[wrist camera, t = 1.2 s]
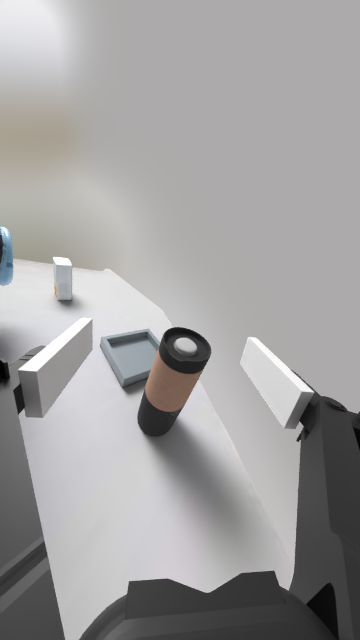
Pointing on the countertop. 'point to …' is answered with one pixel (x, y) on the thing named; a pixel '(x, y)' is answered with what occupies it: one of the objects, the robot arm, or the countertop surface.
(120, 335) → the tray
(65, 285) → the skincare box
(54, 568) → the countertop surface
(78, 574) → the countertop surface
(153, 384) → the travel mug
